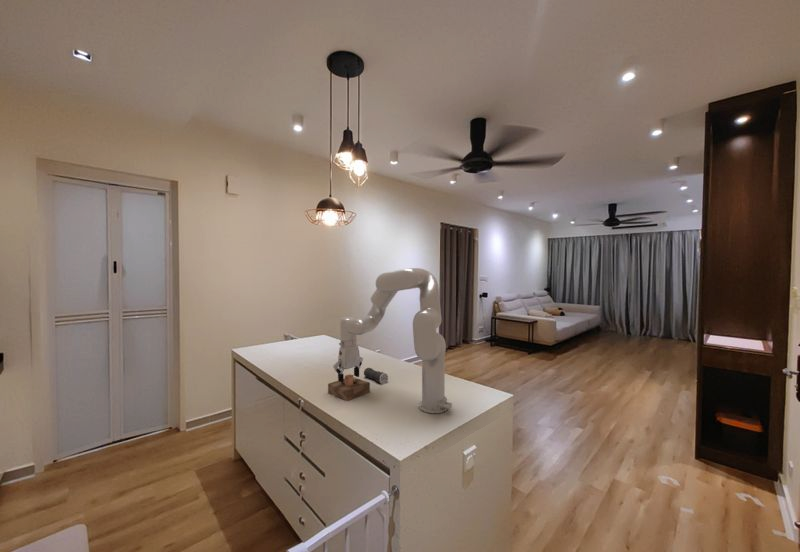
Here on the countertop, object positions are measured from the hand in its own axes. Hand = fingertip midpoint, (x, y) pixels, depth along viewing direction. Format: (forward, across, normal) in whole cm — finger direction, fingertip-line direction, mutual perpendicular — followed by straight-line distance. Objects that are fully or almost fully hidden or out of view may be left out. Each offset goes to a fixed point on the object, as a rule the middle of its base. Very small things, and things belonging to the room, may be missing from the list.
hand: (348, 378), depth 149 cm
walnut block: (+7, 0, 0) cm, 7 cm away
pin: (+7, 0, 0) cm, 7 cm away
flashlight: (+7, +20, +3) cm, 22 cm away
